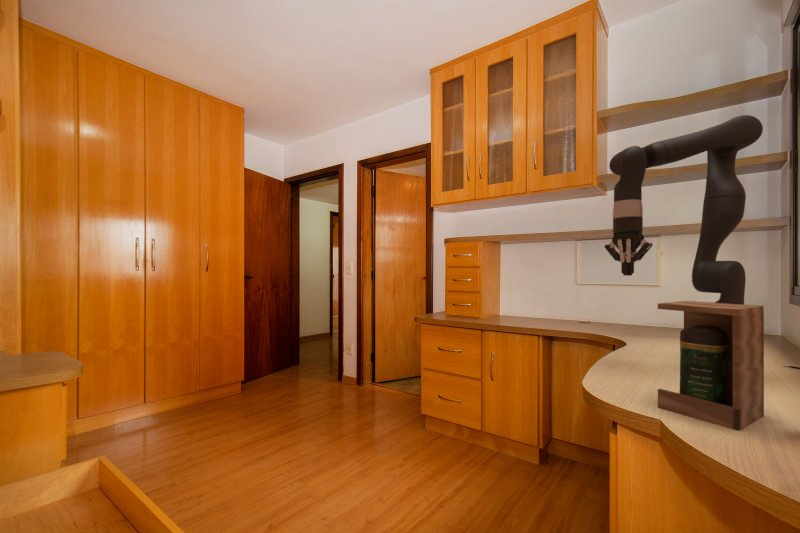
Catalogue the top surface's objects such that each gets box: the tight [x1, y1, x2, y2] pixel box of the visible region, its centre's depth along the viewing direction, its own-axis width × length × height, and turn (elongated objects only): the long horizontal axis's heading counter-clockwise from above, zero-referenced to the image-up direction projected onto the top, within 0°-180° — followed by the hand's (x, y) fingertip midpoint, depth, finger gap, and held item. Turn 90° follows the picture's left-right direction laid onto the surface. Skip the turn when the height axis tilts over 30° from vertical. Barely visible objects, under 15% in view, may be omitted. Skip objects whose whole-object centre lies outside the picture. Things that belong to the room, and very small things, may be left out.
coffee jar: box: [678, 325, 727, 405], centre depth 82 cm, size 10×8×19 cm
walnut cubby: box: [657, 300, 765, 431], centre depth 81 cm, size 14×14×23 cm
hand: (627, 275), depth 109 cm, fingers closed
